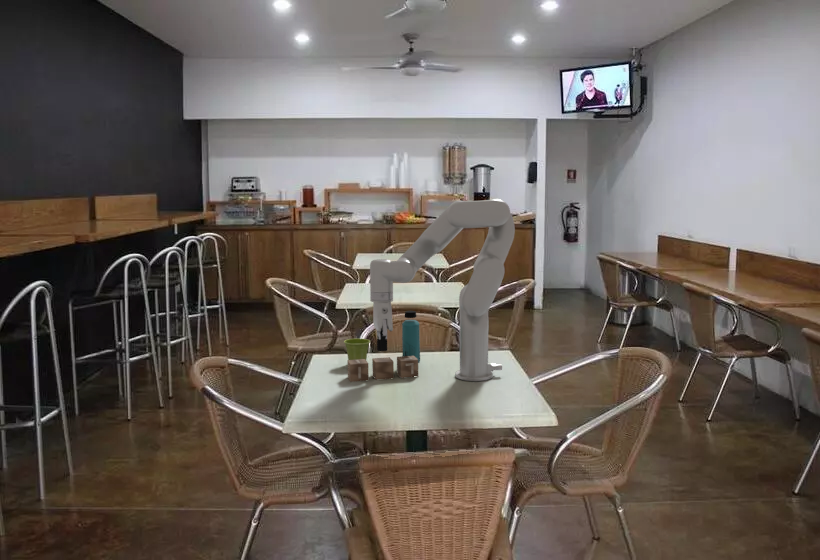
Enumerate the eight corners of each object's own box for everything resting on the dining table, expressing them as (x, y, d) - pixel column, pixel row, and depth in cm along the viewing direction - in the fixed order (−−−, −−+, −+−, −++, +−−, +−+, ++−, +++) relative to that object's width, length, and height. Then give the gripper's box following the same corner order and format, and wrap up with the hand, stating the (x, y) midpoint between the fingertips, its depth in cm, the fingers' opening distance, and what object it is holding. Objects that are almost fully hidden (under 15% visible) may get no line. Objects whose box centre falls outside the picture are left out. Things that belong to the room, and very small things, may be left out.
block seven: (413, 372, 246) (413, 355, 245) (418, 377, 240) (418, 359, 239) (397, 373, 245) (396, 356, 244) (401, 378, 239) (400, 360, 238)
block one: (365, 376, 242) (365, 358, 241) (368, 380, 236) (368, 362, 235) (347, 377, 241) (347, 359, 240) (350, 382, 235) (350, 364, 234)
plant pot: (358, 360, 264) (358, 337, 263) (375, 364, 257) (375, 340, 256) (339, 364, 257) (338, 341, 256) (356, 369, 251) (356, 345, 250)
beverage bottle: (423, 365, 255) (423, 310, 252) (414, 369, 249) (413, 313, 247) (408, 363, 258) (407, 308, 256) (398, 367, 253) (397, 311, 250)
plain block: (389, 374, 244) (389, 357, 243) (393, 378, 238) (393, 361, 237) (372, 375, 243) (372, 358, 242) (376, 380, 237) (375, 362, 236)
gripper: (397, 299, 230) (397, 355, 233) (388, 292, 245) (388, 345, 247) (374, 300, 229) (375, 356, 231) (366, 293, 243) (367, 346, 246)
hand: (382, 350), depth 239 cm, fingers closed
